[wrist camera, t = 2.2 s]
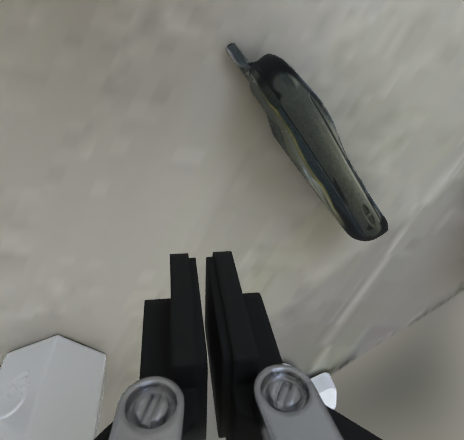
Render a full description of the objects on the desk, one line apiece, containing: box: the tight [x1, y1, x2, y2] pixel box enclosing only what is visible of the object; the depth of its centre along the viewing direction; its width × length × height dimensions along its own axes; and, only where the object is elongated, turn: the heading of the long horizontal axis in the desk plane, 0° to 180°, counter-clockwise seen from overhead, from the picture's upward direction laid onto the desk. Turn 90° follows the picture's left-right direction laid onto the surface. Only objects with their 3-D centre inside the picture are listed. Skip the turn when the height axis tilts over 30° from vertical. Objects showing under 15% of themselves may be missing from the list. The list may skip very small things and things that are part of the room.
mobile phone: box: [226, 43, 388, 241], centre depth 24 cm, size 5×3×15 cm
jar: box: [0, 335, 106, 440], centre depth 28 cm, size 9×8×12 cm
